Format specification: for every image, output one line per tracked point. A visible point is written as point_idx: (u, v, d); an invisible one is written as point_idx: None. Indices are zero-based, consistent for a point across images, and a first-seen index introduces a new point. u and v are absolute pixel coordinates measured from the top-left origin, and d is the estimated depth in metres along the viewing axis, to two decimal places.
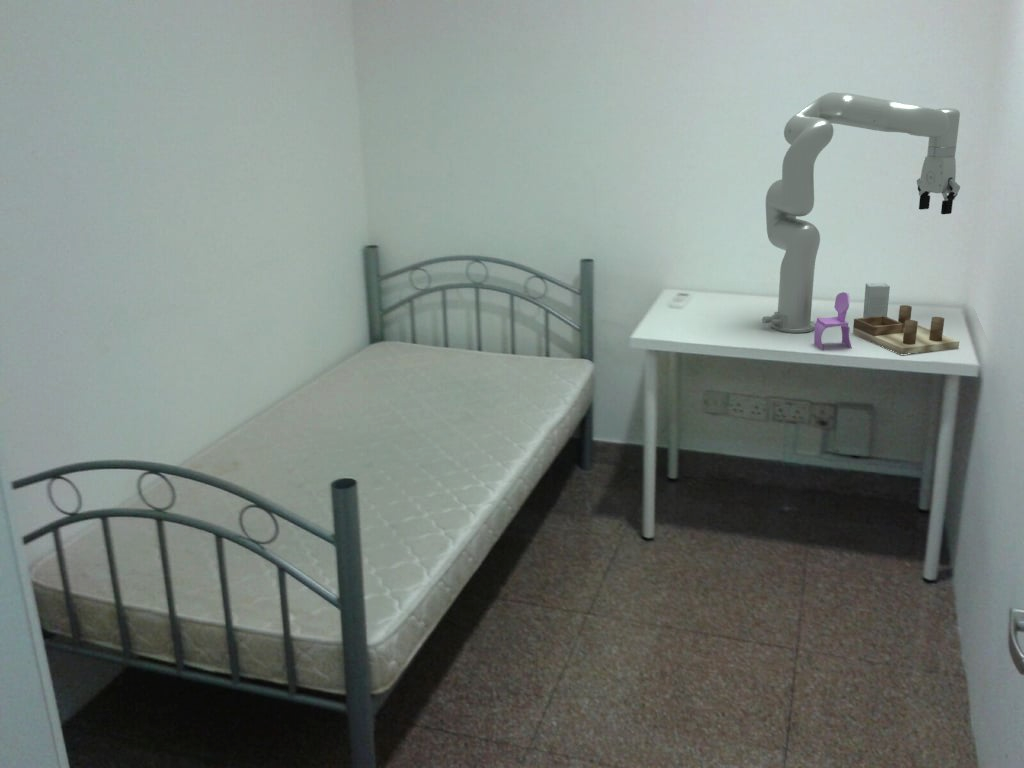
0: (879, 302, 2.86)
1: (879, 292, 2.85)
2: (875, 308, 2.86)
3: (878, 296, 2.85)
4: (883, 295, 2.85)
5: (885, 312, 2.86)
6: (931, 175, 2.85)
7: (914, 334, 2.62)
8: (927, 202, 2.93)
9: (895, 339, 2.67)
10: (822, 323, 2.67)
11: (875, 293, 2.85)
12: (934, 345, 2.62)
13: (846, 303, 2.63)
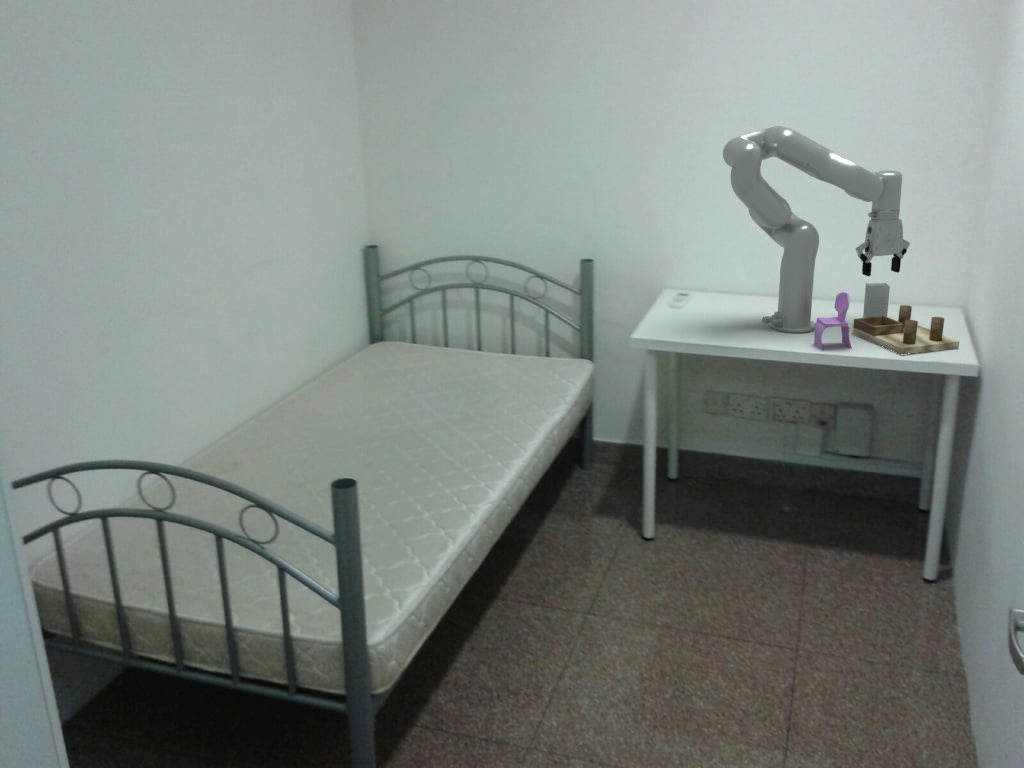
0: (879, 302, 2.86)
1: (879, 292, 2.85)
2: (875, 308, 2.86)
3: (878, 296, 2.85)
4: (883, 295, 2.85)
5: (885, 312, 2.86)
6: (890, 238, 2.79)
7: (914, 334, 2.62)
8: None
9: (895, 339, 2.67)
10: (822, 323, 2.67)
11: (875, 293, 2.85)
12: (934, 345, 2.62)
13: (846, 303, 2.63)
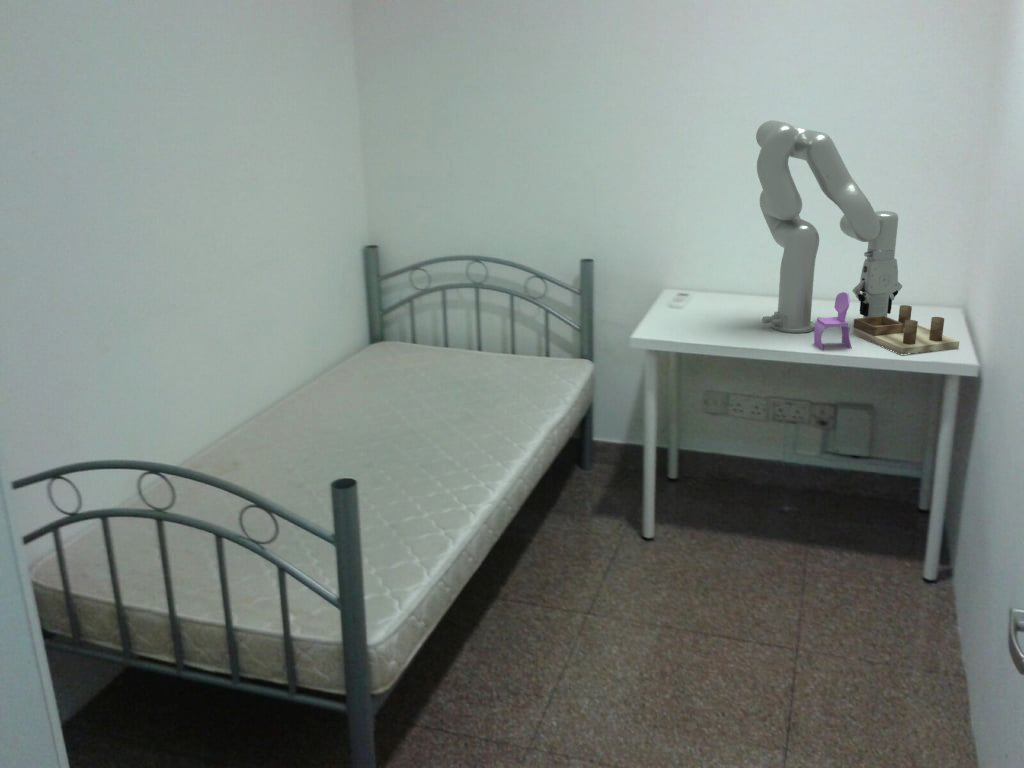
0: (879, 302, 2.86)
1: None
2: (875, 308, 2.86)
3: (878, 296, 2.85)
4: (883, 295, 2.85)
5: (885, 312, 2.86)
6: (885, 277, 2.83)
7: (914, 334, 2.62)
8: None
9: (895, 339, 2.67)
10: (822, 323, 2.67)
11: None
12: (934, 345, 2.62)
13: (846, 303, 2.63)
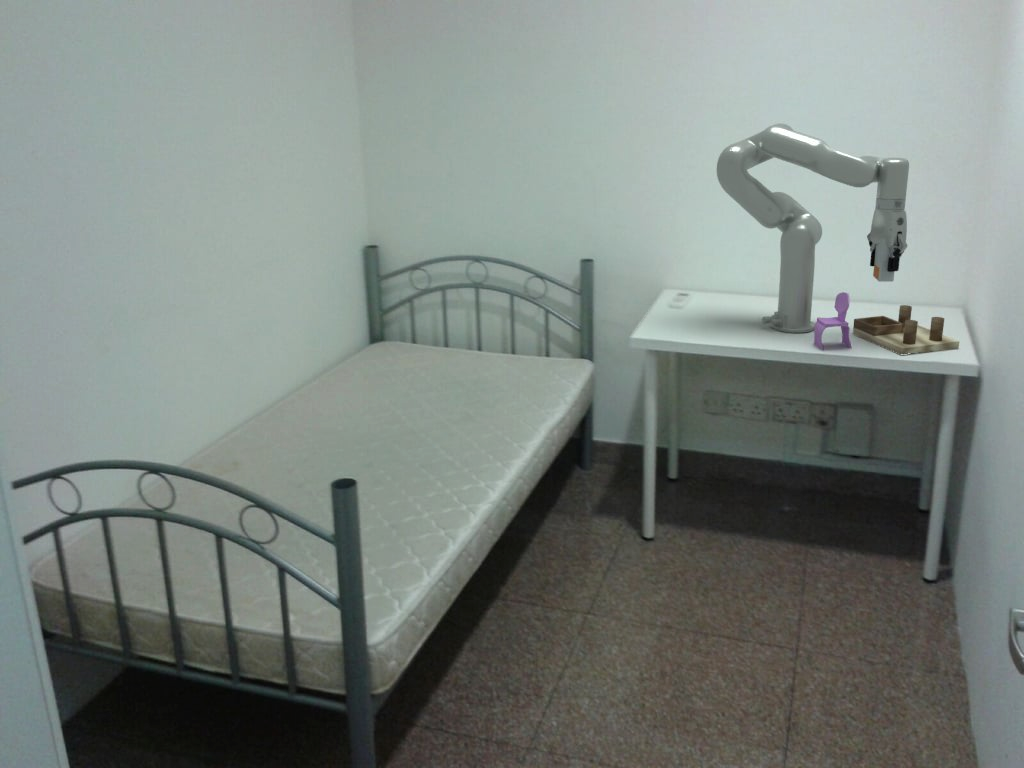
0: None
1: None
2: None
3: None
4: None
5: None
6: None
7: (914, 334, 2.62)
8: None
9: (895, 339, 2.67)
10: (822, 323, 2.67)
11: None
12: (934, 345, 2.62)
13: (846, 303, 2.63)
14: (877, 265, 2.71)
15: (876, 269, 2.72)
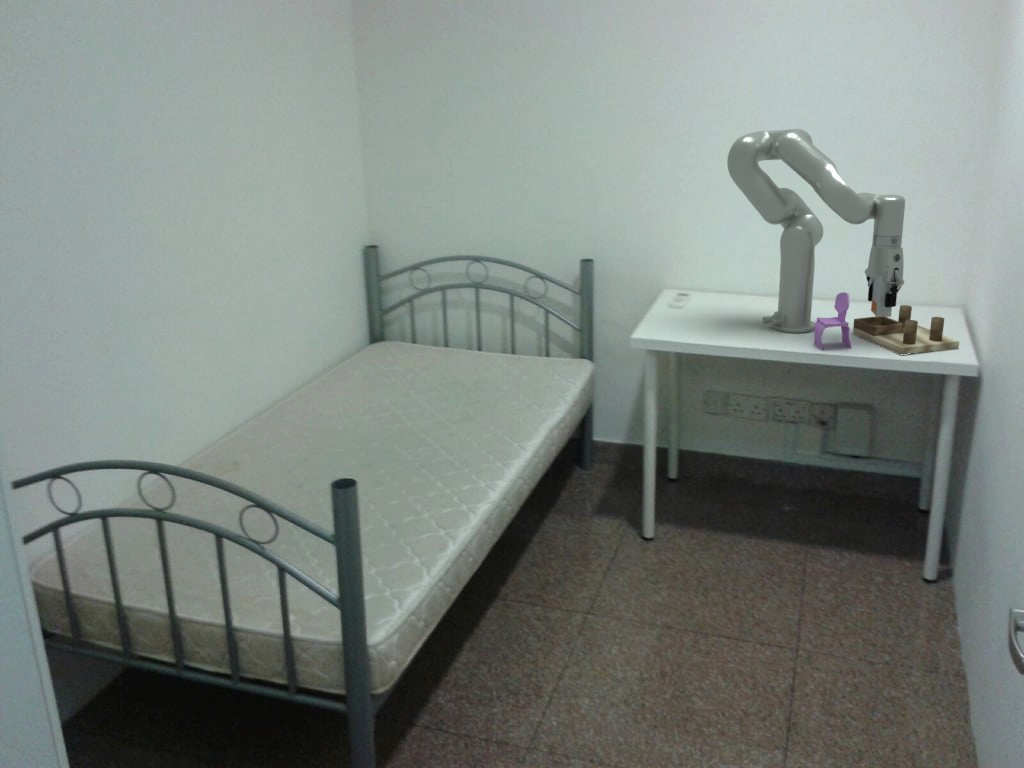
0: None
1: None
2: None
3: None
4: None
5: None
6: None
7: (914, 334, 2.62)
8: None
9: (895, 339, 2.67)
10: (822, 323, 2.67)
11: None
12: (934, 345, 2.62)
13: (846, 303, 2.63)
14: (875, 300, 2.73)
15: (874, 305, 2.74)
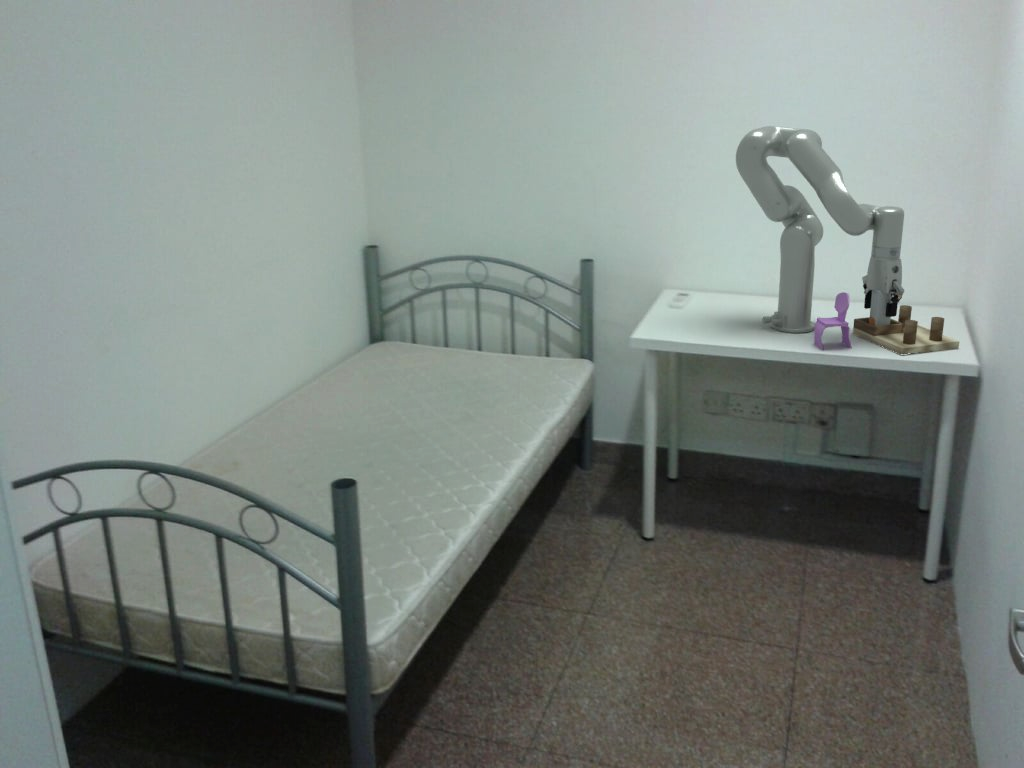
0: None
1: None
2: None
3: None
4: None
5: None
6: None
7: (914, 334, 2.62)
8: None
9: (895, 339, 2.67)
10: (822, 323, 2.67)
11: None
12: (934, 345, 2.62)
13: (846, 303, 2.63)
14: (873, 316, 2.74)
15: (872, 321, 2.75)
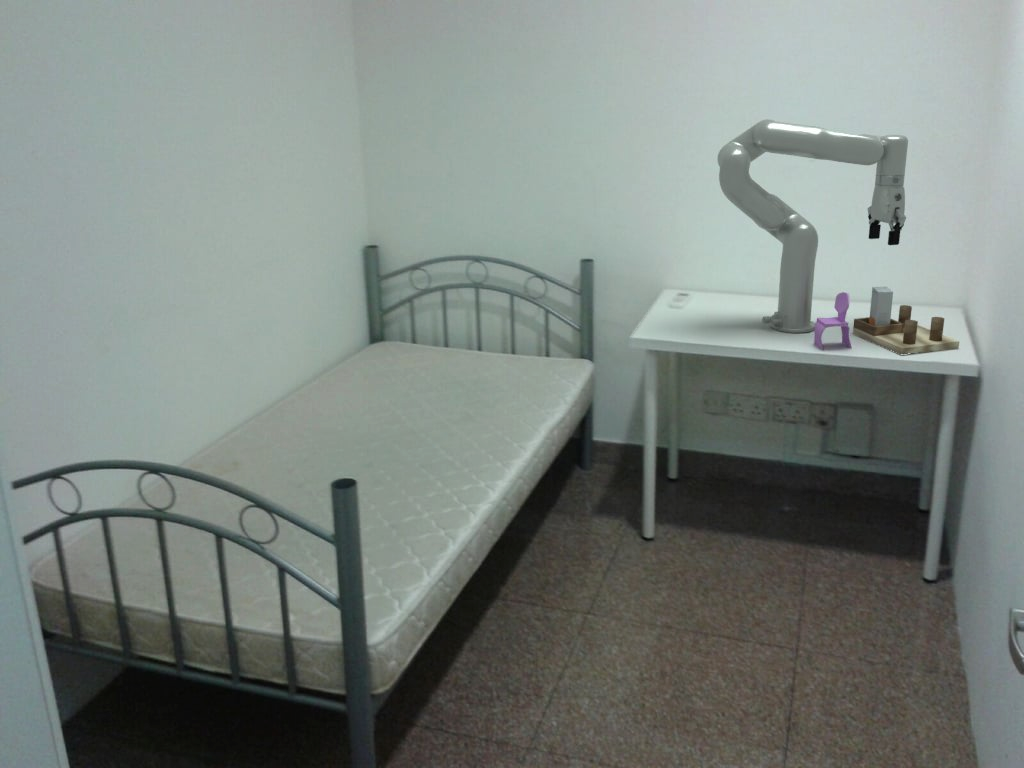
0: None
1: None
2: None
3: None
4: None
5: None
6: None
7: (914, 334, 2.62)
8: None
9: (895, 339, 2.67)
10: (822, 323, 2.67)
11: None
12: (934, 345, 2.62)
13: (846, 303, 2.63)
14: (873, 316, 2.74)
15: (872, 321, 2.75)
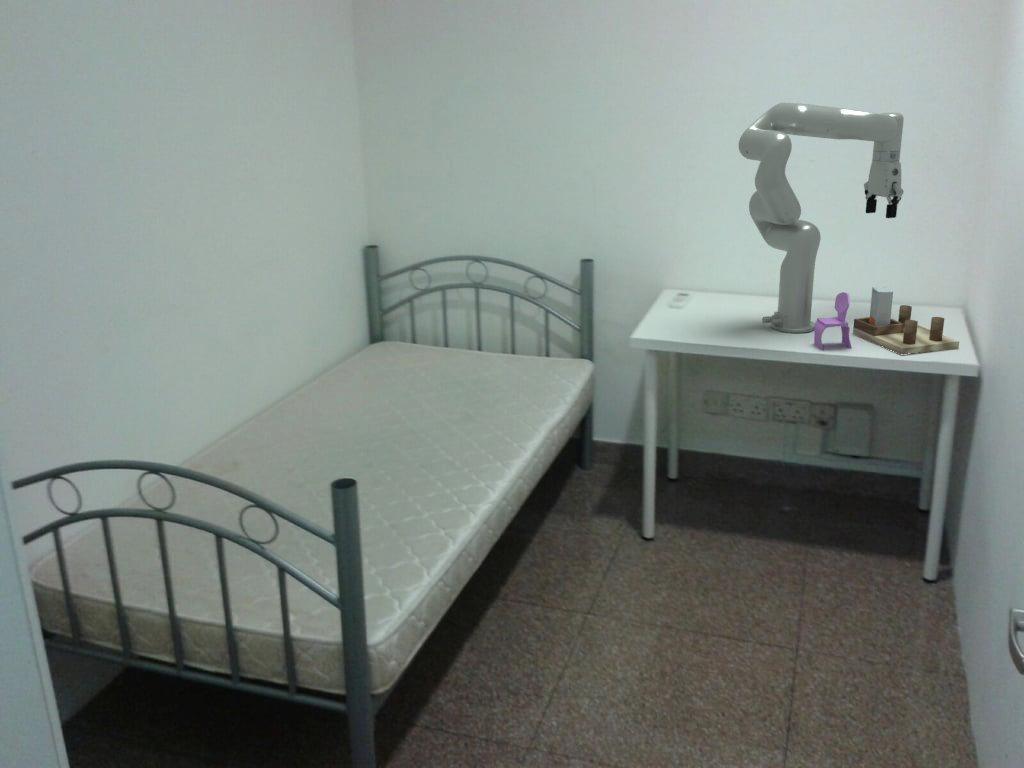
0: None
1: None
2: None
3: None
4: None
5: None
6: None
7: (914, 334, 2.62)
8: None
9: (895, 339, 2.67)
10: (822, 323, 2.67)
11: None
12: (934, 345, 2.62)
13: (846, 303, 2.63)
14: (873, 316, 2.74)
15: (872, 321, 2.75)
